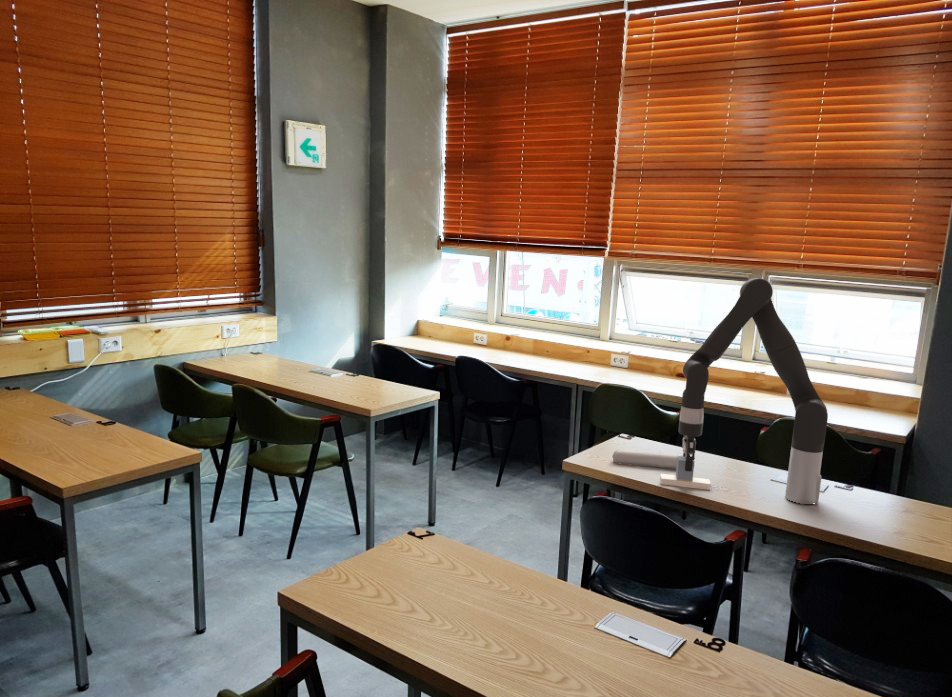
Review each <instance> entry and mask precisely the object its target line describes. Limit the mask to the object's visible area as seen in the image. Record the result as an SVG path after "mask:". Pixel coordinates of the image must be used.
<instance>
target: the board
mask: <svg viewBox="0 0 952 697" xmlns="http://www.w3.org/2000/svg"><path fill="white" fill-rule="evenodd" d="M659 482H660V485H662V486H663V485H666V486H674V487H681V488H693V489H698V490H699V489H700V490H709V491H710V488H711V486H712V483H711V481H710V479H709V478H702V477H693V481H692V482H687V481H679V480H677V479H676V474H675V475H674V474H664V473H660V474H659Z"/></svg>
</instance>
